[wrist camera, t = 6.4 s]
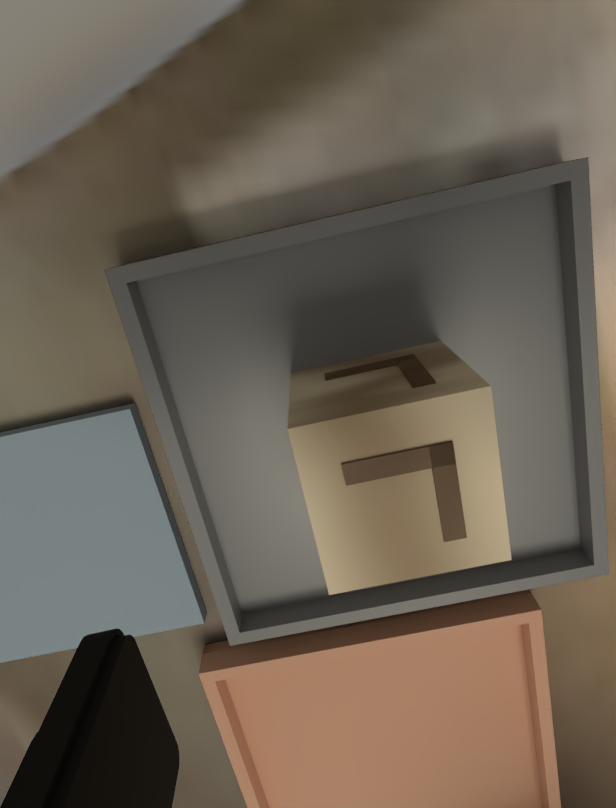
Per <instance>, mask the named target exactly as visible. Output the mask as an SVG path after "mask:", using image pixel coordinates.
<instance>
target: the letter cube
mask: <svg viewBox="0 0 616 808" xmlns="http://www.w3.org/2000/svg"><path fill="white" fill-rule="evenodd" d="M287 430H288V434H289V438H290V441H291V445H292V449H293V453H294V457H295V461H296V465H297V469H298V473H299V477H300V481H301V485H302V489H303V493H304V497H305V501H306V505H307V509H308V513H309V517H310V521H311V525H312V529H313V533H314V537H315V541H316V545H317V549H318V553H319V557H320V561H321V565H322V569H323V573H324V577H325V581H326V585H327V589H328V593H329V595H333V594H338V593H343V592H348V591H353V590H358V589H364V588H369V587H374V586H379V585H384V584H390V583H395V582H400V581H405V580H410V579H415V578H421V577H426V576H431V575H436V574H441V573H447V572H452V571H457V570H462V569H467V568H472V567H478V566H483V565H488V564H493V563H498V562H504V561H509V560H512V559H511V550H510V542H509V533H508V525H507V516H506V508H505V499H504V491H503V482H502V474H501V465H500V457H499V448H498V440H497V431H496V423H495V414H494V406H493V397H492V389H491V385H490V384H488V383H487V382H486V381H485V380H484V379H483V378H482V377H481V376H480V375H479V374H477V373H476V372H475V371H474V370H473V369H472V368H471V367H470V366H469V365H467V364H466V363H465V362H464V361H463V360H462V359H461V358H460V357H459V356H457V355H456V354H455V353H454V352H453V351H452V350H451V349H450V348H449V347H447V346H446V345H445V344H444V343H443V342H442V341H436V342H431V343H427V344H422V345H418V346H413V347H408V348H404V349H399V350H395V351H390V352H386V353H381V354H376V355H372V356H367V357H363V358H358V359H353V360H349V361H344V362H340V363H335V364H330V365H326V366H321V367H317V368H312V369H307V370H303V371H298V372H294V373H291V375H290V392H289V410H288V427H287Z"/></svg>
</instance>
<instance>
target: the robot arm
mask: <svg viewBox="0 0 616 808" xmlns="http://www.w3.org/2000/svg"><path fill="white" fill-rule="evenodd" d="M178 770H179V750H178V745H177V742H176V740H175V737H174V735H173V732H172V730H171V727H170V725H169V722H168V720H167V717H166V715H165V713H164V710H163V708H162V705H161V703H160V700H159V698H158V695H157V693H156V690H155V688H154V685H153V683H152V681H151V678H150V676H149V673H148V671H147V668H146V666H145V663H144V661H143V658H142V656H141V653H140V651H139V649H138V646H137V644H136V641H135V639H134V637H133V636H132V635H124V633H123V632H122V631H121V630H120V629H112V630H107V631H102V632H98V633H93V634H89V635H86V636H84V637H83V639H82V640H81V642H80V644H79V646H78V648H77V650H76V652H75V654H74V657H73V659H72V661H71V663H70V665H69V667H68V669H67V672H66V674H65V676H64V678H63V680H62V682H61V684H60V687H59V689H58V691H57V693H56V695H55V697H54V699H53V702H52V704H51V706H50V708H49V710H48V712H47V714H46V717H45V719H44V721H43V723H42V725H41V727H40V729H39V732H38V733H37V734H36V735H35V737H34V738H33V740H32V742H31V744H30V746H29V748H28V750H27V752H26V754H25V756H24V758H23V761H22V763H21V765H20V767H19V769H18V771H17V773H16V775H15V778H14V780H13V782H12V784H11V786H10V788H9V790H8V792H7V795H6V797H5V799H4V801H3V803H2V805H1V807H0V808H172V803H173V797H174V792H175V786H176V781H177V775H178Z"/></svg>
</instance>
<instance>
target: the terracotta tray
mask: <svg viewBox="0 0 616 808" xmlns="http://www.w3.org/2000/svg"><path fill="white" fill-rule="evenodd" d="M199 676H200V679H201V681H202V684H203V687H204V690H205V692H206V695H207V698H208V701H209V703H210V706H211V709H212V712H213V714H214V717H215V720H216V723H217V725H218V728H219V731H220V734H221V736H222V739H223V742H224V744H225V747H226V750H227V753H228V755H229V758H230V761H231V764H232V766H233V769H234V772H235V775H236V777H237V780H238V783H239V786H240V788H241V791H242V794H243V797H244V799H245V802H246V805H247V808H561V800H560V790H559V780H558V770H557V760H556V751H555V741H554V731H553V721H552V711H551V701H550V691H549V681H548V671H547V661H546V651H545V641H544V631H543V621H542V611H541V608H540V607H539V605H538V603H537V602H536V600H535V598H534V597H533V595H532V594H531V592H530V590H529V589H528V590H523V591H517V592H512V593H507V594H502V595H496V596H491V597H486V598H480V599H475V600H470V601H465V602H459V603H454V604H449V605H444V606H438V607H433V608H428V609H422V610H417V611H412V612H407V613H401V614H396V615H391V616H386V617H380V618H375V619H370V620H364V621H359V622H354V623H349V624H343V625H338V626H333V627H328V628H322V629H317V630H312V631H306V632H301V633H296V634H291V635H285V636H280V637H275V638H270V639H264V640H259V641H254V642H248V643H243V644H238V645H233V646H230V644H229V641H228V640H227V641H222V642H217V643H211V644H206V645H205V647H204V652H203V657H202V661H201V666H200V670H199Z"/></svg>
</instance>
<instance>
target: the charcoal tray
mask: <svg viewBox="0 0 616 808" xmlns="http://www.w3.org/2000/svg"><path fill="white" fill-rule="evenodd" d="M105 273H106V276H107V279H108V282H109V285H110V288H111V291H112V294H113V297H114V300H115V303H116V306H117V309H118V312H119V315H120V318H121V321H122V324H123V327H124V330H125V333H126V336H127V339H128V342H129V345H130V348H131V351H132V354H133V357H134V360H135V363H136V366H137V369H138V372H139V375H140V378H141V381H142V384H143V387H144V390H145V393H146V396H147V399H148V402H149V405H150V408H151V411H152V414H153V417H154V420H155V423H156V426H157V429H158V432H159V435H160V438H161V441H162V444H163V447H164V450H165V453H166V456H167V459H168V462H169V465H170V468H171V471H172V474H173V477H174V480H175V483H176V486H177V489H178V492H179V495H180V498H181V501H182V504H183V507H184V510H185V513H186V516H187V519H188V522H189V525H190V527H191V530H192V533H193V536H194V539H195V542H196V545H197V548H198V551H199V554H200V557H201V560H202V563H203V566H204V569H205V572H206V575H207V578H208V581H209V584H210V587H211V590H212V593H213V596H214V599H215V602H216V605H217V608H218V611H219V614H220V617H221V620H222V623H223V626H224V629H225V632H226V635H227V638H228V641H229V644H230V646H233V645H238V644H243V643H248V642H254V641H259V640H264V639H270V638H275V637H280V636H285V635H291V634H296V633H301V632H306V631H312V630H317V629H322V628H328V627H333V626H338V625H343V624H349V623H354V622H359V621H364V620H370V619H375V618H380V617H386V616H391V615H396V614H401V613H407V612H412V611H417V610H422V609H428V608H433V607H438V606H444V605H449V604H454V603H459V602H465V601H470V600H475V599H480V598H486V597H491V596H496V595H502V594H507V593H512V592H517V591H523V590H528V589H533V588H539V587H544V586H549V585H554V584H560V583H565V582H570V581H575V580H581V579H586V578H591V577H597V576H602V575H607V574H609V564H608V544H607V524H606V505H605V485H604V465H603V445H602V425H601V405H600V385H599V366H598V346H597V326H596V306H595V286H594V266H593V246H592V227H591V207H590V187H589V167H588V157H587V158H582V159H576V160H571V161H566V162H561V163H557V164H553V165H549V166H544V167H540V168H536V169H531V170H527V171H523V172H519V173H514V174H510V175H506V176H501V177H497V178H493V179H488V180H484V181H480V182H476V183H471V184H467V185H463V186H458V187H454V188H450V189H446V190H441V191H437V192H433V193H428V194H424V195H420V196H416V197H411V198H407V199H403V200H398V201H394V202H390V203H386V204H381V205H377V206H373V207H368V208H364V209H360V210H356V211H351V212H347V213H343V214H338V215H334V216H330V217H326V218H321V219H317V220H313V221H308V222H304V223H300V224H296V225H291V226H287V227H283V228H278V229H274V230H270V231H266V232H261V233H257V234H253V235H248V236H244V237H240V238H235V239H231V240H227V241H223V242H218V243H214V244H210V245H205V246H201V247H197V248H193V249H188V250H184V251H180V252H175V253H171V254H167V255H163V256H158V257H154V258H150V259H145V260H141V261H137V262H133V263H128V264H124V265H120V266H116V267H113V268H109V269H106V270H105ZM436 341H442V342H443V343H444V344H445V345H446V346H447V347H449V348H450V349H451V350H452V351H453V352H454V353H455V354H456V355H457V356H459V357H460V358H461V359H462V360H463V361H464V362H465V363H466V364H467V365H469V366H470V367H471V368H472V369H473V370H474V371H475V372H476V373H477V374H479V375H480V376H481V377H482V378H483V379H484V380H485V381H486V382H487V383H488V384H490V385H491V389H492V397H493V406H494V414H495V423H496V431H497V440H498V448H499V457H500V465H501V474H502V482H503V491H504V499H505V508H506V516H507V525H508V533H509V542H510V550H511V559H512V560H509V561H504V562H498V563H493V564H488V565H483V566H478V567H472V568H467V569H462V570H457V571H452V572H447V573H441V574H436V575H431V576H426V577H421V578H415V579H410V580H405V581H400V582H395V583H390V584H384V585H379V586H374V587H369V588H364V589H358V590H353V591H348V592H343V593H338V594H333V595H329V593H328V589H327V585H326V581H325V577H324V573H323V569H322V565H321V561H320V557H319V553H318V549H317V545H316V541H315V537H314V533H313V529H312V525H311V521H310V517H309V513H308V509H307V505H306V501H305V497H304V493H303V489H302V485H301V481H300V477H299V473H298V469H297V465H296V461H295V457H294V453H293V449H292V445H291V441H290V438H289V434H288V430H287V427H288V410H289V392H290V375H291V373H294V372H298V371H303V370H307V369H312V368H317V367H321V366H326V365H330V364H335V363H340V362H344V361H349V360H353V359H358V358H363V357H367V356H372V355H376V354H381V353H386V352H390V351H395V350H399V349H404V348H408V347H413V346H418V345H422V344H427V343H431V342H436Z"/></svg>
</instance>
